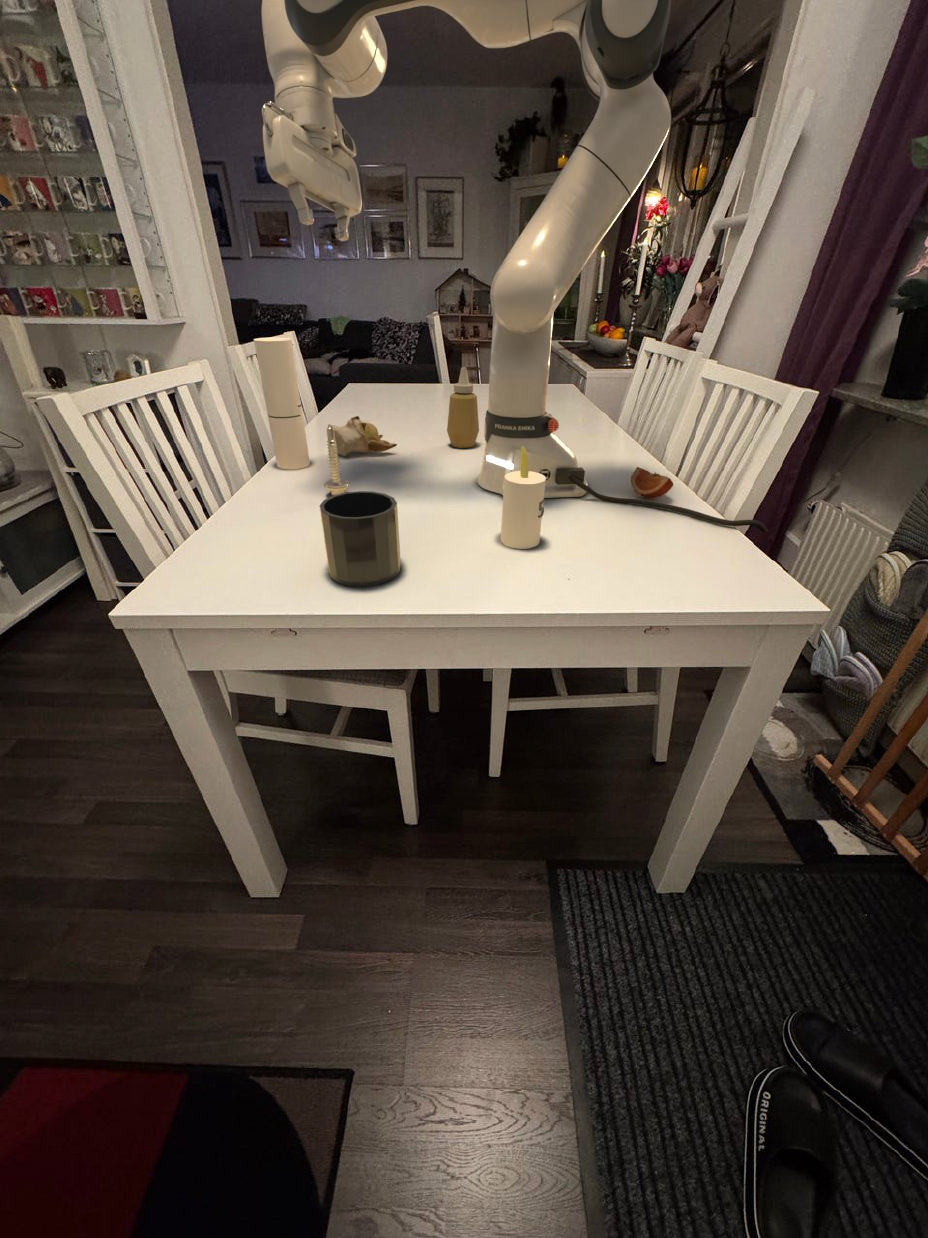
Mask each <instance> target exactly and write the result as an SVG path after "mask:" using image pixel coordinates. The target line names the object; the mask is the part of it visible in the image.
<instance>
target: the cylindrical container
mask: <svg viewBox="0 0 928 1238" xmlns="http://www.w3.org/2000/svg"><path fill="white" fill-rule="evenodd" d="M253 344H254V348H255V354H256V359H257V366H258V370H259V376H260V381H261V385H262V386H261V387H262V392H263V397H264V398H263V399H264V403H265V409H266V413H267V419H268V425H269V429H270V435H271V440H272V445H273V450H274V451H273V452H274V457H275V462H276V467H277V468H279V469H282V470H288V471H289V470H291V471H292V470H300V469H305V468H307V467H309V466H310V465H311V461H310V454H309V449H308V448H309V447H308V441H307V434H306V429H305V428H306V427H305V420H304V414H303V406H302V401H301V395H300V387H299V382H298V381H299V380H298V374H297V367H296V361H295V360H296V359H295V355H294V349H293V348H294V347H293V341H292V338H290V337H276V336H275V337H258V338H253Z"/></svg>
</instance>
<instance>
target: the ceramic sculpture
mask: <svg viewBox="0 0 928 1238" xmlns="http://www.w3.org/2000/svg"><path fill="white" fill-rule="evenodd" d="M329 426H331V427H333V429H334V435H335V439H336V440H335V441H336V442H337V443H336V445H337V449H338V450H337V451H338V453H337V454H338V455H339V456H342V457H343V456H347V455H348V454H349V453H351V452H354V453H359V454H368V453H372V452H375V453H383V452H386V451H389V450H391V449H393V448H395V447H397V445H398V444H397V443H392V442H391V443H390V442H389V441H387V440H385V439H384V440H383V439H382V438H383V436H384V435H383V434H379V431H378V428H377V427H376V426H375V424H374V423H372V422H371V421H368V420H361V418H360V416H359V415H356V416H353V417H351V418H350V419H349V420H347V422H346V424H345V425H343V426H338V425H334V424H331V423H329V424H327V427H329Z"/></svg>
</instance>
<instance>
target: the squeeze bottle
mask: <svg viewBox="0 0 928 1238" xmlns="http://www.w3.org/2000/svg"><path fill="white" fill-rule="evenodd" d="M468 375H469V374H468V369H467V367H465V366H463V367H461V368H460V374H459V378H458V382H457V383H454V384H453V393H452V394H450V395H449V403H448V405H449V407H448V416H447V425H446V426H447V427H446V432H447V436H448V440H449V442H450V445H451V446H452V447H454V448H459V449H467V448H472V447H474V446H475V444H476V441H477V438H478V435H479V433H480V422H479V409H478V408H479V407H478V406H479V405H478V395H476V394H475V393H474V384H473V383H470V381H469V376H468Z"/></svg>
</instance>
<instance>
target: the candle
mask: <svg viewBox="0 0 928 1238" xmlns="http://www.w3.org/2000/svg"><path fill="white" fill-rule="evenodd" d="M545 481H546V477H545V476H544V475H542V474H540V473H536V472H531V471H529V463H528V456H527V452H526V450H525V448H524V447H523V446H522V448H521V465H520V471H514V472H509V473H507V474H506V475H505V477H504V493H503V495H502V497H503V498H502V511H501V513H502V514H501V528H500V529H501V531H500V541H501V543H502V544H503V545H504V546H506V547H508V548H512V549H518V550H528V549H532V548H535V547H538V545H539V544H540V539H541V529H542V519H543V516H544V513H545V507H544V504H545V503H546V500H545V498H544V491H545Z"/></svg>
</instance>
